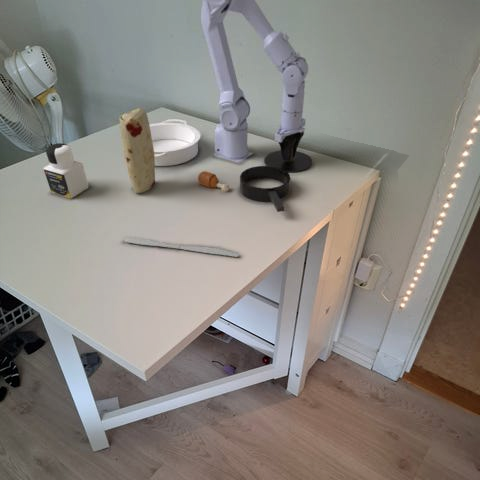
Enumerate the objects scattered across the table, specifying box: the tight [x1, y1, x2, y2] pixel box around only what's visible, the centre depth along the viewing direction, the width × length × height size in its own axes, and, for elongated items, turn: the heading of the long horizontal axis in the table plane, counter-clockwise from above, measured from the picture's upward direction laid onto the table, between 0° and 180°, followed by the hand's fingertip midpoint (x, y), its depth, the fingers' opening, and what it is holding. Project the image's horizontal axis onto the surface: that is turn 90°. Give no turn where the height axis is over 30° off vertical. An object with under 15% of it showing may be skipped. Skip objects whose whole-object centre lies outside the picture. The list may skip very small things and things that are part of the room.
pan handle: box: [268, 190, 286, 213], centre depth 108 cm, size 9×2×1 cm, turn 12°
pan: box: [239, 165, 292, 203], centre depth 116 cm, size 13×13×4 cm
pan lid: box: [263, 149, 313, 174], centre depth 128 cm, size 14×14×5 cm
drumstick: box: [197, 171, 230, 193], centre depth 118 cm, size 10×4×4 cm, turn 57°
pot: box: [149, 118, 201, 167], centre depth 134 cm, size 29×22×5 cm
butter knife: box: [123, 237, 240, 258], centre depth 99 cm, size 1×27×3 cm
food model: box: [118, 107, 156, 194], centre depth 112 cm, size 10×7×20 cm
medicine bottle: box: [43, 142, 89, 200], centre depth 114 cm, size 7×7×12 cm
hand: (288, 158), depth 128 cm, fingers closed on pan lid, 2 cm apart
